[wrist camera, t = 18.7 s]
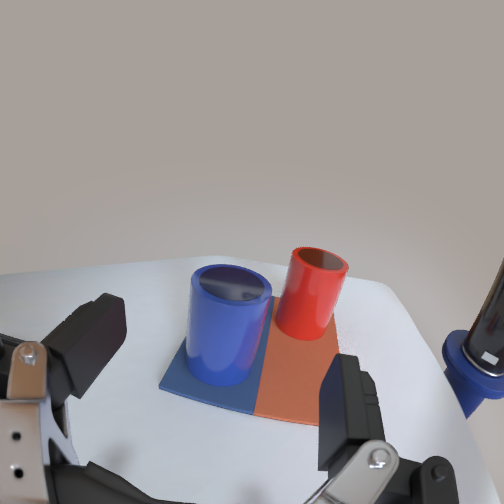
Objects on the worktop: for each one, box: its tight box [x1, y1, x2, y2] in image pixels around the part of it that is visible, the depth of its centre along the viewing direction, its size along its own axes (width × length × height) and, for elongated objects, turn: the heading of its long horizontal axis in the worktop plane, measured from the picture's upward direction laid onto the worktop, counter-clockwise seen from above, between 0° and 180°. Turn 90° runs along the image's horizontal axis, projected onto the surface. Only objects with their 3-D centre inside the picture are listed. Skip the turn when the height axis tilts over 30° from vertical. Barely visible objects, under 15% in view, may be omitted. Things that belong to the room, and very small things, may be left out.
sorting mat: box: [159, 296, 339, 426], centre depth 29 cm, size 16×19×1 cm
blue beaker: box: [185, 264, 272, 387], centre depth 23 cm, size 6×6×9 cm
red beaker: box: [275, 247, 349, 341], centre depth 31 cm, size 6×6×8 cm
